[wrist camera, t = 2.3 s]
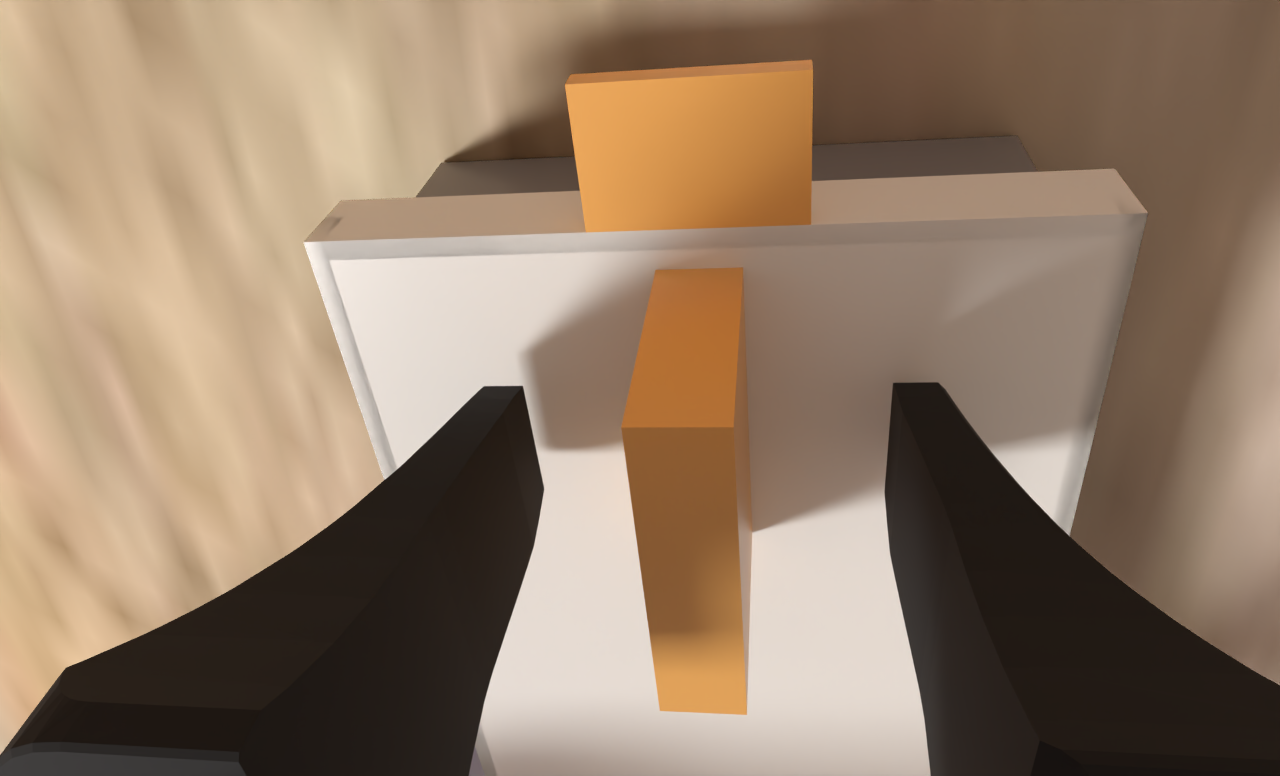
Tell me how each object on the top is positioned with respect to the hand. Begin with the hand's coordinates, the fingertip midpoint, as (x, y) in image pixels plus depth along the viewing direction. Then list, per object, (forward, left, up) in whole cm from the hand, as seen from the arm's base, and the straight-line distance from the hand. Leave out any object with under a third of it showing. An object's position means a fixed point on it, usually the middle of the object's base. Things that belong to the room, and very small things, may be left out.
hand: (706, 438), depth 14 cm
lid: (0, -4, -2) cm, 4 cm away
